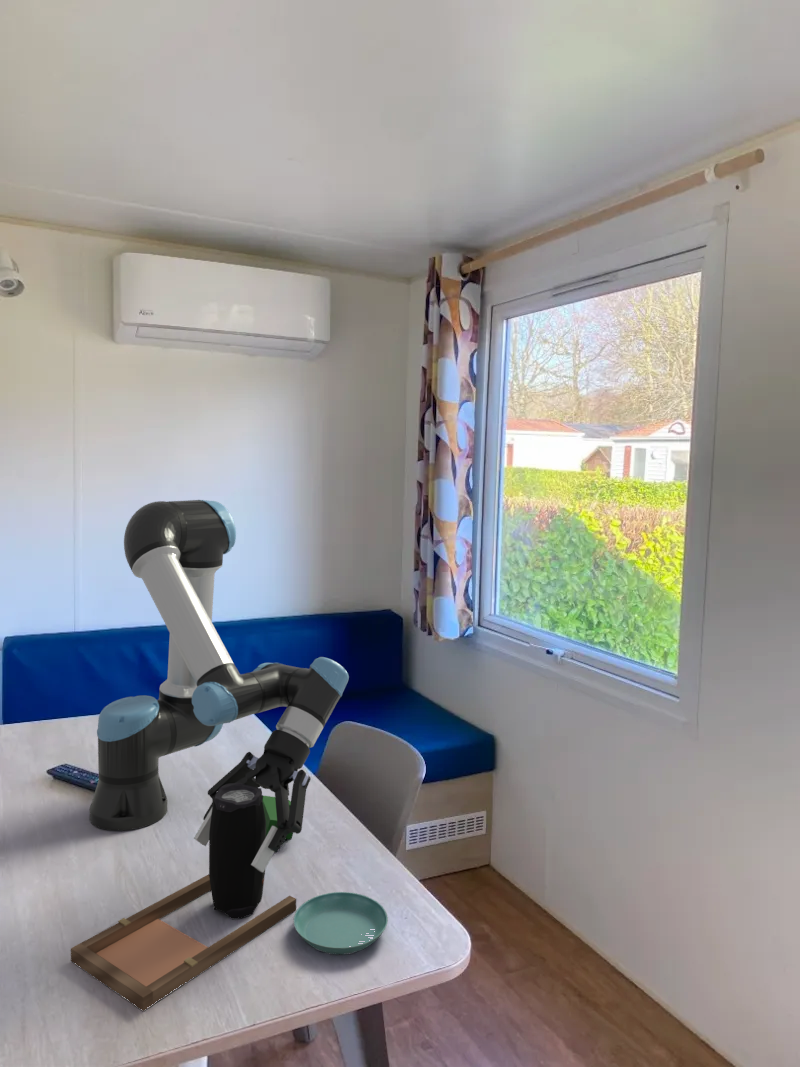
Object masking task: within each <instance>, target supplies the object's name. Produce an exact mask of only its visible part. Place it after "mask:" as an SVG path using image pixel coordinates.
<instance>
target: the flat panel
mask: <svg viewBox="0 0 800 1067" xmlns="http://www.w3.org/2000/svg"><path fill="white" fill-rule="evenodd" d="M208 947H209V946H207V945H205V944H204V943H202V942H200V941H198V940H196V939H195V938H193V937H192V936H190V935H187V934H185V933H184V932H182V931H180V930H179V929H177V928H175V927H173V926H172V925H171V924H168V923H167V922H165V921H163V920H161V918H160V919H156V920H154V921H153V922H151V923H149V924H147V925H145V926H144V927H142V928H140V929H138V930H137V931H135V932H133V933H131V934H129V935H128V936H126V937H124V938H122V939H120V940H119V941H117V942H115V943H113V944H111V945H110V946H108V947H106V948H104V949H103V950H101V951H99V952H97V953H96V954H97V955H99V956H100V957H102V958H103V959H105V960H106V961H108V962H109V963H111V964H112V965H114V966H115V967H117V968H118V969H120V970H121V971H123V972H124V973H126V974H127V975H129V976H130V977H132V978H133V979H135V980H136V981H138V982H139V983H141V984H142V985H144V986H145V987H146V986H148V985H150V984H151V983H153V982H154V981H156V980H157V979H159V978H161V977H162V976H164V975H165V974H167V973H168V972H170V971H172V970H173V969H175V968H176V967H178V966H179V965H181V964H183V963H184V960H185V959H187V958H189V957H190V958H192V957H194V956H195V955H197V954H198V953H200V952H201V951H203V950H205V949H206V948H208Z"/></svg>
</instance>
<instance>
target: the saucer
mask: <svg viewBox="0 0 800 1067" xmlns="http://www.w3.org/2000/svg"><path fill="white" fill-rule="evenodd" d="M388 918H389V917H388V914H387V911H386V909H385V907H384V906H383V905H382V904H381V903H379V902H378V901H377V900H375V899H373V898H372V897H369V896H367V895H365V894H364V895H363V894H361V893H356V892H347V891H335V892H333V891H332V892H327V893H322V894H319V895H316V896H313V897H312V898H310V899H308V900H307V901H305V902H304V903H302V904H301V905H299V907H298V908H296V911H295V913H294V915H293V926H294V929H295V931H296V932H297V933H298V935H299V936H300V937H301V939H302V940H303V941H304V942H306V943H307V944H308V945H309V946H311V947H312V948H313V949H316V950H317V951H320V952H323V953H326V954H329V953H330V954H329V955H339V954H340V955H349V953H350V954H355V953H357V951H358V952H360V951H362V950H364V949H366V948H368V947H369V946H371V944H373V943H375V942H376V941H377V940H378V939H379V938H380V936H381V935H382V934H383V933H384V932H385V930H386V928H387V925H388V921H389V920H388ZM370 929H375V930H370ZM374 931H375V932H374ZM366 933H369V934H366ZM361 934H362V935H361ZM365 935H374V936H365ZM368 937H373V939H370V938H368ZM369 940H370V941H369ZM359 941H365V942H359ZM358 943H363V944H358ZM349 946H351V947H349ZM354 952H355V953H354Z"/></svg>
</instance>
